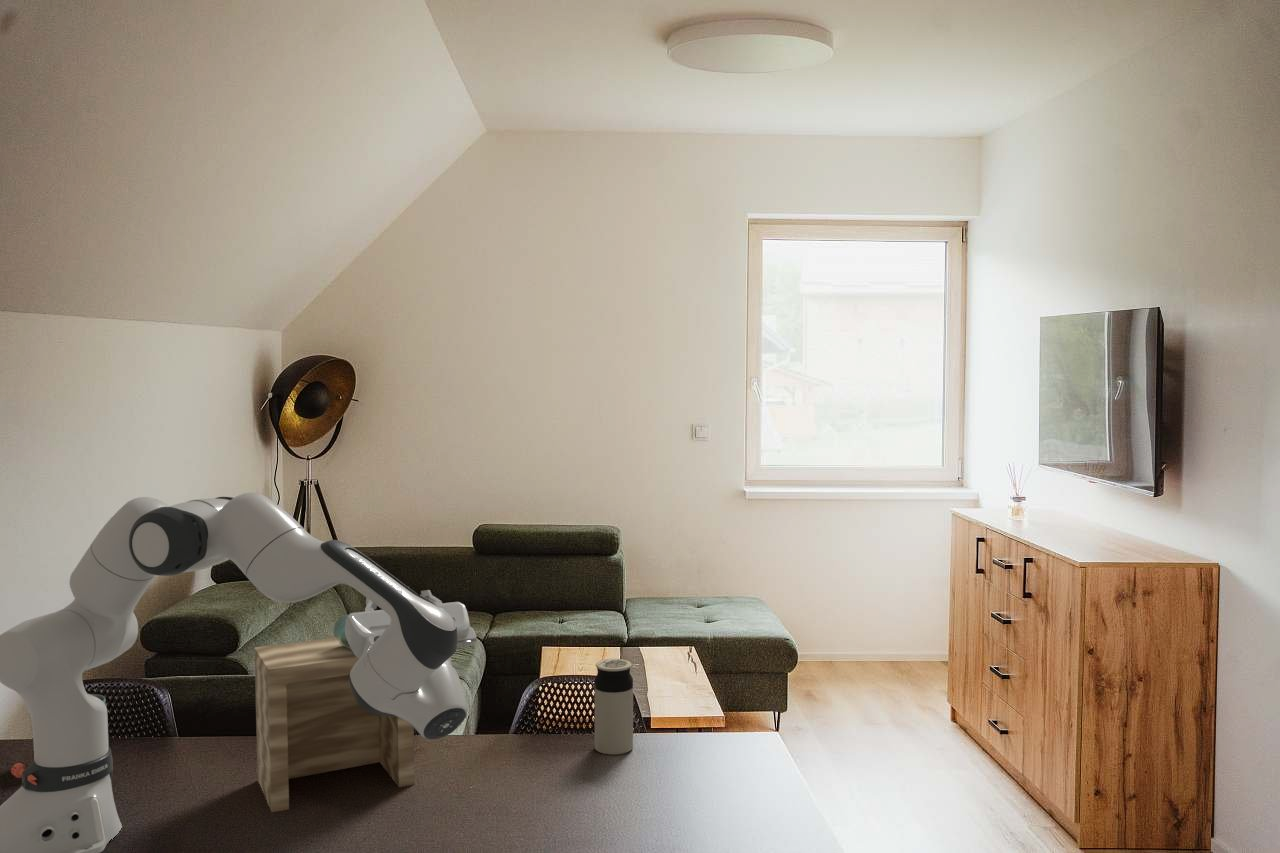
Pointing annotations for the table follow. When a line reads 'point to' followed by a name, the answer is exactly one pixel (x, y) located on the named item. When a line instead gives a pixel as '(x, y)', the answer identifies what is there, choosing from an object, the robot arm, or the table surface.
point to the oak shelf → (319, 719)
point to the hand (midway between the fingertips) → (397, 595)
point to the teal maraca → (341, 632)
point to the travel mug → (613, 707)
